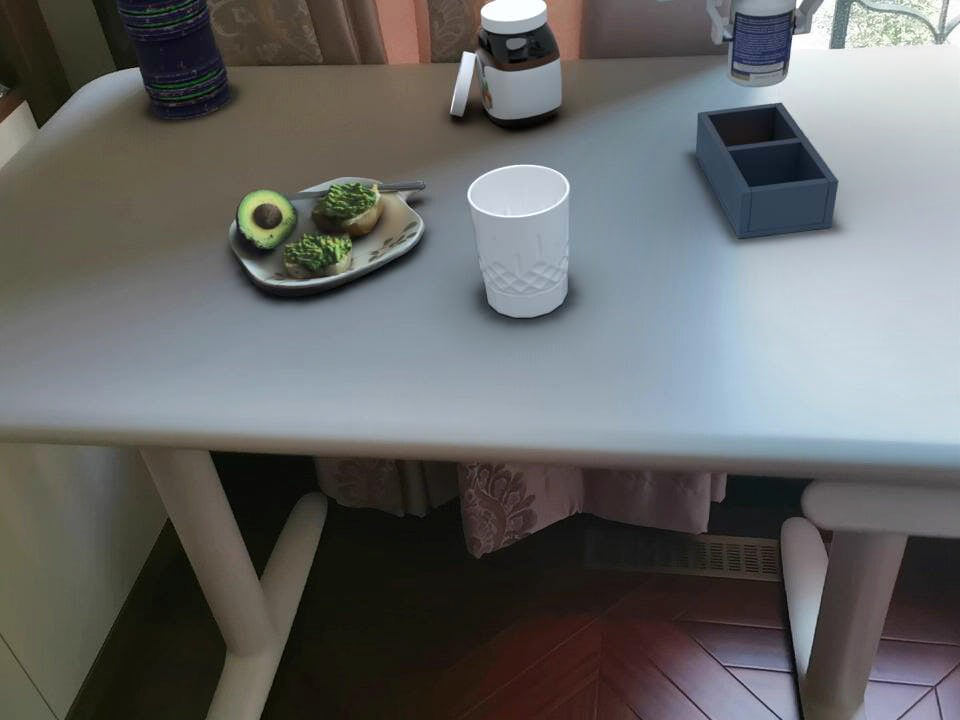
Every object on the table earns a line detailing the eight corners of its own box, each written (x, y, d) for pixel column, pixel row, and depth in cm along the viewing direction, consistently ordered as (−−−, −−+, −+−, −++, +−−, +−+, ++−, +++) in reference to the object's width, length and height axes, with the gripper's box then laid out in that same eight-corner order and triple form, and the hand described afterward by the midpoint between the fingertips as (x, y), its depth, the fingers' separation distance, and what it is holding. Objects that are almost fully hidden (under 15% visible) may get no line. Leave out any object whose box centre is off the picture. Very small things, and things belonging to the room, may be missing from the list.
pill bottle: (798, 83, 84) (812, -31, 78) (740, 93, 83) (750, -20, 77) (771, 59, 88) (782, -50, 82) (716, 70, 87) (723, -40, 81)
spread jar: (573, 121, 103) (569, 14, 95) (476, 149, 100) (464, 41, 93) (526, 82, 112) (519, -19, 104) (436, 107, 109) (422, 4, 102)
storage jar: (234, 110, 114) (189, -47, 102) (151, 126, 113) (96, -30, 101) (231, 78, 121) (190, -71, 110) (153, 92, 120) (103, -57, 109)
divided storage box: (776, 145, 95) (781, 101, 92) (831, 227, 83) (839, 180, 80) (695, 155, 95) (697, 112, 92) (738, 239, 83) (742, 192, 80)
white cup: (525, 257, 84) (516, 154, 78) (593, 289, 80) (590, 183, 73) (460, 299, 80) (446, 195, 74) (528, 336, 76) (519, 228, 69)
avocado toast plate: (394, 166, 99) (387, 125, 96) (473, 242, 87) (468, 198, 84) (214, 227, 93) (201, 185, 90) (272, 319, 81) (258, 274, 78)
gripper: (892, -163, 77) (864, 9, 86) (639, -131, 77) (637, 37, 86) (926, -144, 72) (893, 36, 81) (655, -111, 72) (652, 65, 81)
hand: (759, 37), depth 83 cm, fingers closed on pill bottle, 5 cm apart
